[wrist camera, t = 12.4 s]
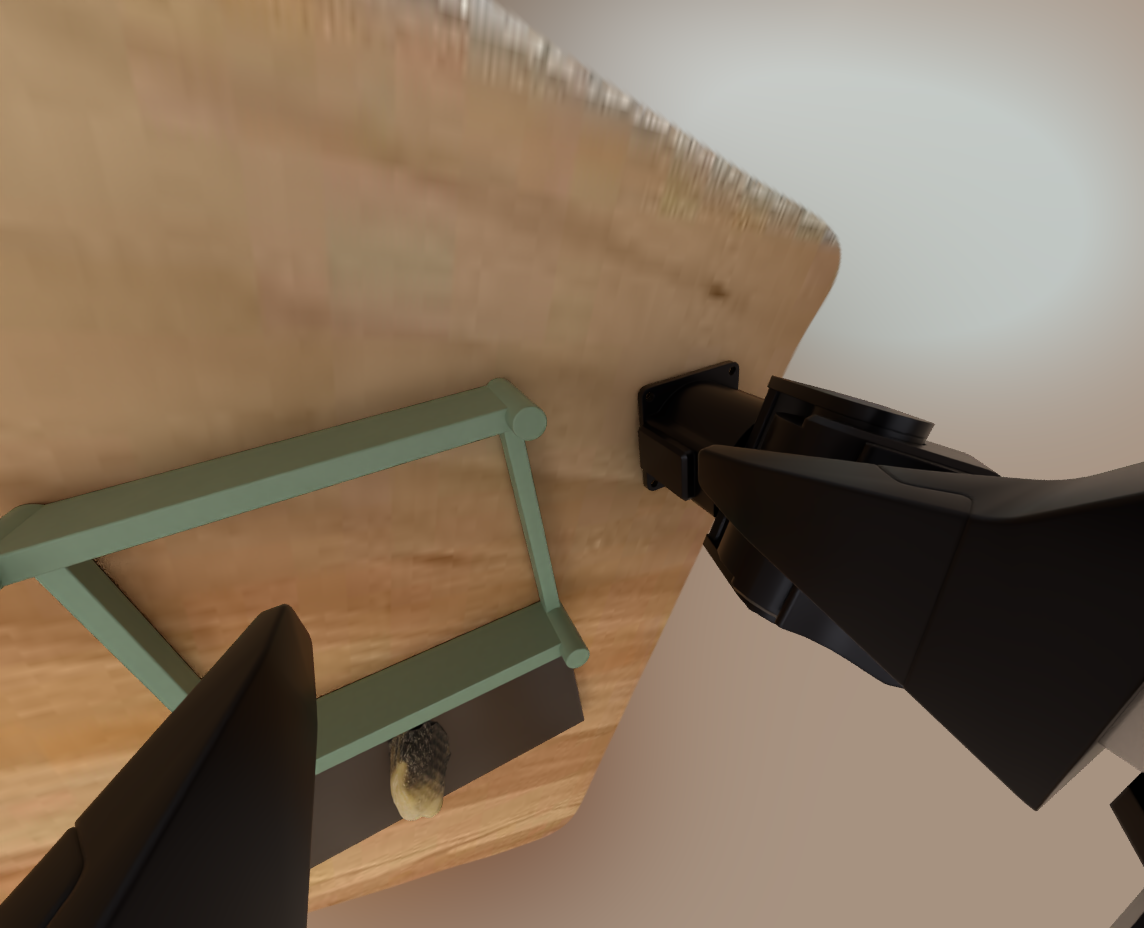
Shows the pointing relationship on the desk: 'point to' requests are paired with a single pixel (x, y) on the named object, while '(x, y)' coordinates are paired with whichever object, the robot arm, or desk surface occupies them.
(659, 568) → the desk surface
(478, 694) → the frame
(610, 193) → the desk surface
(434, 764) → the brazil nut
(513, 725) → the board
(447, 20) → the desk surface
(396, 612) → the desk surface
